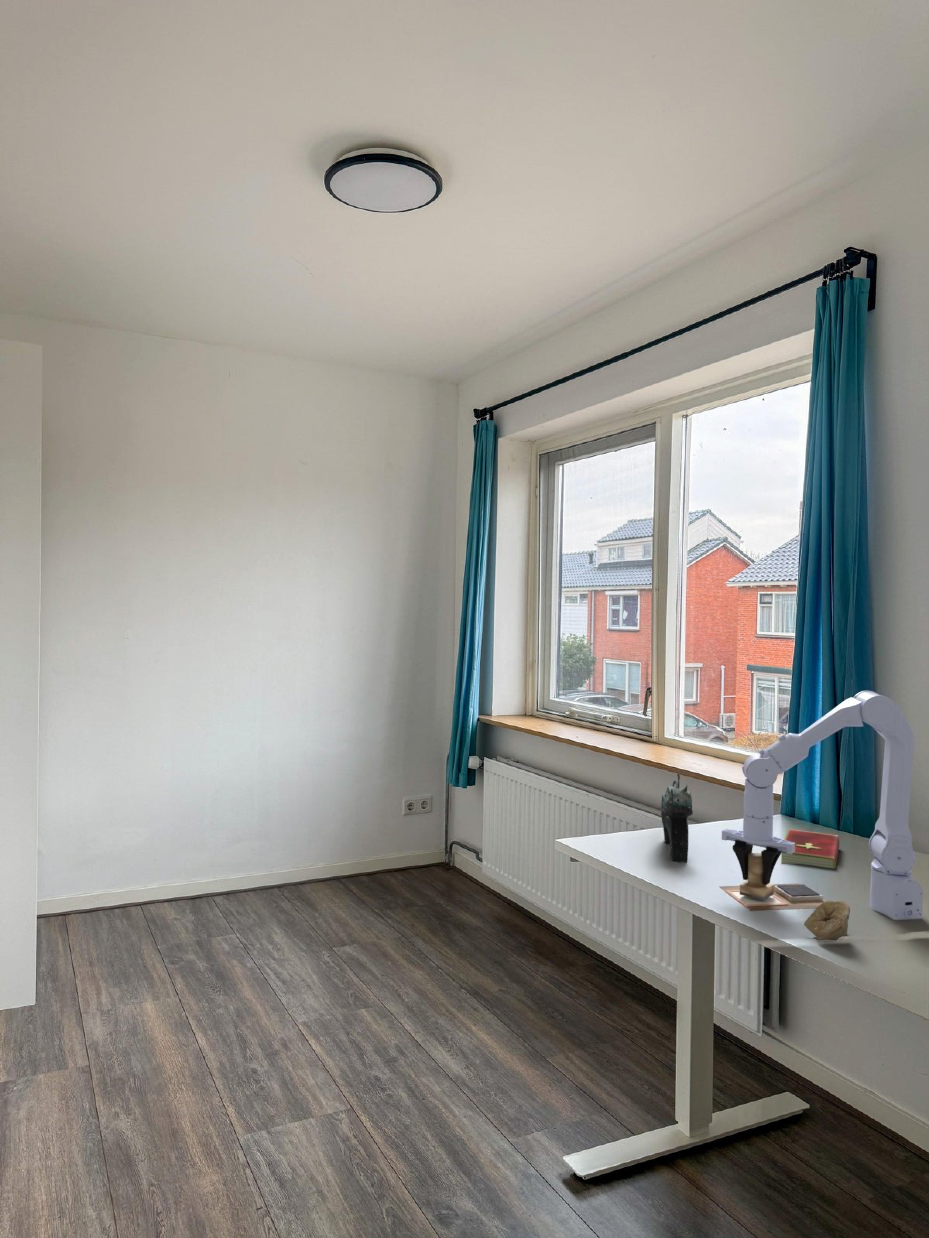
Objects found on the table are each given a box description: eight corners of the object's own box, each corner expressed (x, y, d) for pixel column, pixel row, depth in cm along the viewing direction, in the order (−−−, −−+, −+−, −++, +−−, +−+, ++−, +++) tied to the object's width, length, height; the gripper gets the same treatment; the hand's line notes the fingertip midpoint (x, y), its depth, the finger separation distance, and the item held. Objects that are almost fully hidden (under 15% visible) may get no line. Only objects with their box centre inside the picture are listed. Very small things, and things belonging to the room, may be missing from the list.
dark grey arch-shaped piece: (693, 864, 200) (695, 779, 199) (664, 863, 201) (666, 778, 200) (681, 840, 220) (683, 762, 219) (655, 839, 220) (657, 761, 220)
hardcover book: (839, 851, 214) (839, 834, 214) (835, 875, 195) (835, 857, 195) (788, 844, 219) (788, 827, 219) (779, 867, 201) (779, 849, 200)
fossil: (822, 894, 164) (856, 901, 155) (837, 911, 165) (872, 919, 155) (794, 930, 162) (827, 939, 152) (809, 946, 162) (843, 957, 152)
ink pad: (823, 900, 175) (823, 894, 175) (791, 902, 174) (791, 896, 173) (804, 888, 182) (804, 883, 181) (773, 890, 180) (773, 884, 180)
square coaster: (788, 905, 172) (788, 904, 172) (745, 906, 170) (745, 905, 170) (765, 889, 181) (765, 888, 181) (725, 891, 179) (725, 890, 179)
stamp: (773, 894, 176) (774, 855, 176) (763, 900, 172) (764, 860, 172) (750, 888, 179) (750, 850, 179) (739, 894, 176) (740, 855, 175)
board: (835, 911, 171) (835, 906, 171) (750, 915, 168) (750, 910, 168) (797, 887, 185) (797, 883, 185) (718, 891, 182) (718, 886, 182)
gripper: (801, 817, 173) (799, 884, 174) (732, 805, 183) (730, 868, 183) (788, 824, 168) (786, 893, 168) (717, 811, 177) (716, 876, 178)
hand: (756, 881), depth 175 cm, fingers closed on stamp, 3 cm apart
